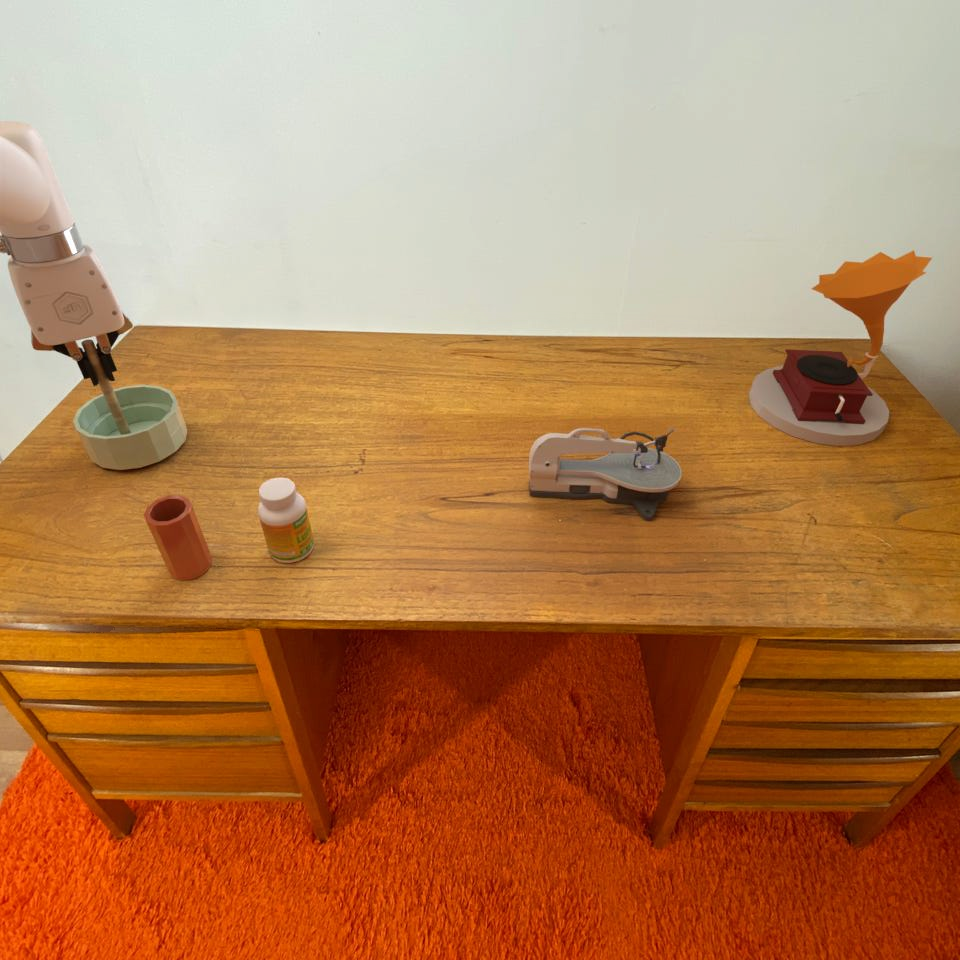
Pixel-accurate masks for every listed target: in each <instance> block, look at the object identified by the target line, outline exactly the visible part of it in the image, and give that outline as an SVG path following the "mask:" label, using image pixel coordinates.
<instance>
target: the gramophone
mask: <svg viewBox="0 0 960 960" xmlns="http://www.w3.org/2000/svg"><path fill="white" fill-rule="evenodd" d="M932 259H933V257H927V256H918V255H916V252H915V250H911V251H909V252H907V253H905V254H903V255H901V256H899V257H896V258H895V259H894V258H893V257H891V256H889V255H887V254H885V253H884V252H882V251H879V252H878V253H876V254H875V255H873V256H871V257H870V258H868V259H866V260H864V261H862V262H861V261H860V262H859V261H847V260H845V261H844V262H843V263H842V264H841V265H840V266H839V268H838V269H837V270H836V271H835V272H834V273H826V274H820V275H818V276H819V277H818V278H819V279H818V281H819V283H818V284H816V285H815V286H813V287H812V288H811V290H813V291H815V292H817V293H820V294H822V295H823V297H824V299H829V300H831V301H832V302H833V303H834V304H837V305H838V306H839V307H841V308H842V309H844V310H846V311H848V312H849V313H852V314H853V315H855V316H856V317H857V318H859V319H860V320H861V321H862V322H863V325H864V326H865V329H866V331H867V334H868V337H869V340H870V344H871V347H870V349H869V351H866V352H865V357H864V358H863V359H861V360H857V361H856V360H855V361H853V359H854V358H853V356H849V358H848V359H847V357H846V356H845V354H844V353H843V351H831V350H812V349H811V350H810V349H809V350H808V349H789V348H785V350H784V351H785V353H786V357H785V360H784V363H783V365H778V366H774V367H770V368H766V369H765V370H763V371H762V372H760V373H757V374H756V375H755V378H754V380H753V381H752V383H751V386H750V389H749V392H748V398H749V405H750V406H751V408H752V409H753V410H754V412H755V413H756V414H757V416H758V417H760V418H761V419H762V420H764V421H765V422H766V423H768V424H769V425H770V426H771V427H773V428H775V429H776V430H778V431H781V432H783V433H785V434H787V435H789V436H791V437H793V438H797V439H801V440H803V441H807V442H810V443H813V444H820V445H826V446H833V447H847V446H849V447H851V446H852V447H853V446H860V445H863V444H867V443H869V442H873V441H874V440H876V439H877V438H878V437H879V436H880V435H882V433H883V432H884V430H885V429H886V426H887V424H888V423H889V417H890V410H889V408H888V406H887V403H886V401H885V400H884V399H883V398H882V397H881V395H879V394H878V393H877V392H876V391H875V390H874V389H872V388H870V387H869V386H867V384H866V383H865V381H864V380H863V379H865V378H866V377H867V376H868V375H869V373H870V372H871V369H872V367H873V365H874V362H875V361H876V359H878V355H879V353H880V352H881V349H882V347H883V343H884V334H885V317H886V315H887V313H888V311H889V310H890V309H891V307H892V306H893V304H895V303H896V302H897V301H898V300H899V299H900V297H901V296H902V295H903V294H904V292H905V291H906V290H907V288H908V287H909V286H910V284H912V282H913V281H915V280H917V279H919V278H920V277H922V276H923V275H925V274H927V271H924V270H925V269H926V268H927V266H928V265H929V264H930V262H931V261H932ZM852 364H854V365H857V366H861V365H864V364H865V365H864V367H863V371H862V372H861V373H858V371H857V370H856V368H854V366H853V365H852Z"/></svg>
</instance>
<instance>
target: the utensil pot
mask: <svg viewBox="0 0 960 960" xmlns="http://www.w3.org/2000/svg"><path fill="white" fill-rule="evenodd" d="M143 517H144V519H145V522H146V525H147V526H148V529H149V531H150V533H151V536H152V537H153V540H154V542H155V545H156V546H157V548H158V551H159V553H160V555H161V557H162V560H163V562H164V564H165V566H166V569H167V571H168V573H169V574H170V576H171V577H172V578H173V579H175V580H177V581H190V580H194V579H197V578H199V577H201V576H203V575H204V574H205V573H206V572H208V571H209V569H210V568H211V566H212V563H213V560H212V559H213V558H212V554H211V552H210V549H209V546H208V543H207V541H206V538H205V535H204V533H203V530H202V528H201V525H200V522H199V520H198V517H197V514H196V512H195V509H194V507H193V504H192V502H191V500H190V498H189V497H185V496H184V495H180V494H172V495H165V496H163V497H160V498H157V499H155V500H154V501H153V502H151V503H150V504H149V505H147V507H146V509H145V511H144V513H143Z"/></svg>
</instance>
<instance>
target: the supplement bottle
mask: <svg viewBox="0 0 960 960" xmlns="http://www.w3.org/2000/svg"><path fill="white" fill-rule="evenodd" d="M258 496H259V500H260V502H259V504H258V506H257V515H258V519H259V523H260V525H261V530H262V532H263V536H264V540H265V543H266V547H267V551H268V553H269V555H270V557H271V558H272V559H273V560H274V561H276V562H278V563H281V564H282V563H283V564H292V563H293V564H294V563H297V562H299V561H302V560H304V559H305V558H306V557H308V556H309V555H310V554H311V553H312V551H313V549H314V546H315V540H314V536H313V530H312V526H311V522H310V521H311V520H310V517H309V511H308V507H307V504H306V500H305V498H304V497H303V496H302V495H301V493H299V492H297V487H296V484H295V482H294V481H292V479H289V478H288V477H274V478H270V479H268V480H266V481H264V482H263V483H262V484H261V485H260V486H259V489H258Z"/></svg>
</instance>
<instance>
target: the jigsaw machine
mask: <svg viewBox="0 0 960 960" xmlns="http://www.w3.org/2000/svg"><path fill="white" fill-rule="evenodd" d="M673 432H674V428H671V429H670V430H669V432H668V433H667V434H664V435H660V436H655V438H653V437H652V436H650V435H649V434H646V433H643V432H640V431H635V430H633V431H630V432H626V433H624V434H623V435H622V436H621V437H620V438H612V437H611V436H610V435H609V434H608V432H607V431H606V430H605V429H600V428H591V427H579V428H576V429H574V430H572V431H570V432H569V433H561V432H560V433H559V432H549V433H546V434H543V435H541V436H540V437H538V438H536V440H535V441H534V443H532V446H531V448H530V451H529V455H528V456H529V457H528V489H529V496H530V497H536V498H555V499H564V500H565V499H566V500H591V499H592V500H593V499H596V500H597V499H598V500H603V501H604V502H606V503H608V504H621V505H633V507H634V508H635V510H636V512H637V513H638V515H639V516H640V517H641V519H643V520H644V521H647V522H648V521H649V522H650V521H652V520H653V519H654V517H655V514H656V512H657V508H658V507H659V505H661V504H663V503H664V502H665V501H667V498H668V496H669V491H670V490H672V489H674V488H676V487H677V486H678V485H679V484H680V483H681V479H682V475H683V471H682V467H681V466H680V464H679V462H678V461H677V460H676V459H675V458H674V457H672V456H671V455H669V454H667V453H665V452H664V448H666V445H667V441H668V436H669V435H670V434H671V433H673ZM584 433H590V434H591V433H592V434H599V435H601V436H602V437H601V436H590V435H583V434H584ZM581 434H582V435H581ZM634 435H635V436H639V437H643V438H645V439H647V440H649V441H647V442H646V443H645V442H642V441H634V440H626V438H627V437H631V436H634ZM653 445H654V446H655V449H654V448H649V447H650V446H653ZM577 454H578V455H579V454H583V455H584V454H607V455H604V456H601V457H598V458H595V459H566V458H565V459H563V458H560V457H561V456H565V455H577Z"/></svg>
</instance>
